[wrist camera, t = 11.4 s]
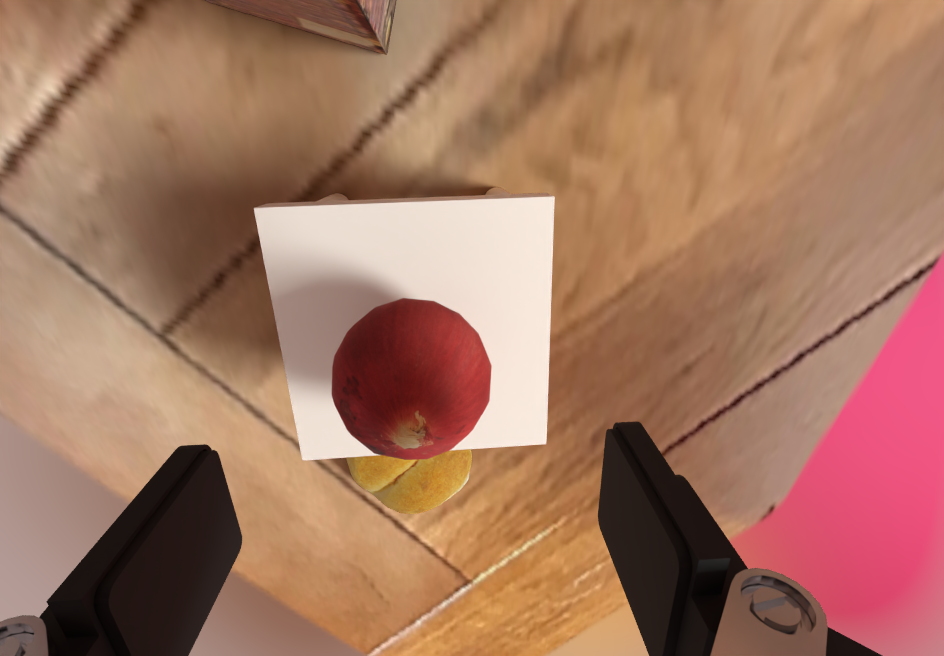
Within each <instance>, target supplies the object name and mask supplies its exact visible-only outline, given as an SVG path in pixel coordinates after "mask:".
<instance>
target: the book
mask: <svg viewBox="0 0 944 656" xmlns="http://www.w3.org/2000/svg"><path fill="white" fill-rule="evenodd" d="M206 1H207V2H210V3H213V4H217V5H220V6H223V7H227V8H230V9H234V10H237V11H240V12H244V13H247V14H251V15H254V16H257V17H261V18H264V19H267V20H271V21H274V22H278V23H281V24H284V25H288V26H291V27H294V28H298V29H301V30H305V31H308V32H311V33H315V34H318V35H321V36H325V37H328V38H332V39H335V40H338V41H342V42H345V43H349V44H352V45H355V46H359V47H362V48H365V49H369V50H372V51H376V52H379V53H382V54H386V55H387V53H388V47H389V41H390V35H391V29H392V23H393V17H394V11H395V5H396V0H206Z"/></svg>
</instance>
